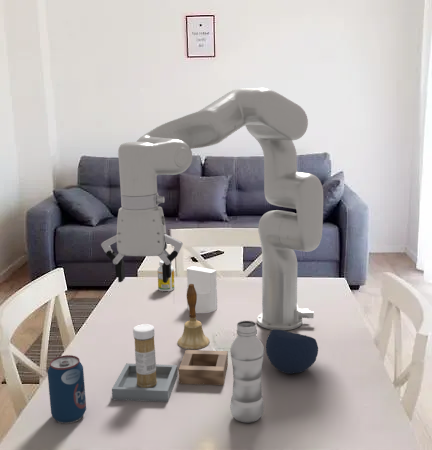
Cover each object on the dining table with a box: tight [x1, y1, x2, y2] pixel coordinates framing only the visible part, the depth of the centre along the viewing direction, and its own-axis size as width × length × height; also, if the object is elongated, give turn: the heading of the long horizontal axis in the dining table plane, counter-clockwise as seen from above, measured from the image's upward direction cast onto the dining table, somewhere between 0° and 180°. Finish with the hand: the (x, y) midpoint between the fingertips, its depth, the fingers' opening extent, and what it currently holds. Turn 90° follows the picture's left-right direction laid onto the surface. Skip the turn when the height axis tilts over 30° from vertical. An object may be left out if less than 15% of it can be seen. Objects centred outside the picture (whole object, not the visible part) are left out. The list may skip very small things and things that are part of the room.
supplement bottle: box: [157, 259, 175, 292], centre depth 196 cm, size 5×5×10 cm
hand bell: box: [177, 284, 210, 350], centre depth 154 cm, size 8×8×16 cm
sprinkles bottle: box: [132, 323, 157, 388], centre depth 131 cm, size 5×5×13 cm
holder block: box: [178, 349, 229, 386], centre depth 138 cm, size 10×10×4 cm
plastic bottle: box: [229, 320, 265, 424], centre depth 117 cm, size 6×7×20 cm
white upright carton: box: [186, 265, 218, 314], centre depth 178 cm, size 9×9×12 cm
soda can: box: [47, 354, 87, 424], centre depth 120 cm, size 7×7×12 cm
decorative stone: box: [265, 329, 319, 375], centre depth 138 cm, size 12×12×10 cm
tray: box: [111, 362, 179, 403], centre depth 133 cm, size 12×12×2 cm
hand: (143, 280), depth 129 cm, fingers open, 9 cm apart
